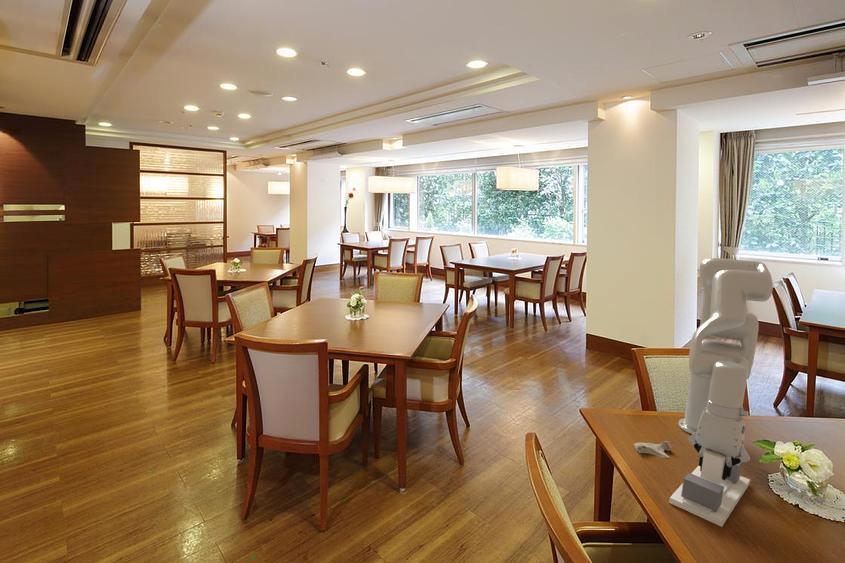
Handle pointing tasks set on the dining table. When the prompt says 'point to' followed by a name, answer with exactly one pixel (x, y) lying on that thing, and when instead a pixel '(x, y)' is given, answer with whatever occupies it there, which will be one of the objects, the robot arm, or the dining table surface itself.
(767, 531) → the dining table surface
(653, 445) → the fossil
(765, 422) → the dining table surface
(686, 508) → the rail board
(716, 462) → the block
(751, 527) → the dining table surface
